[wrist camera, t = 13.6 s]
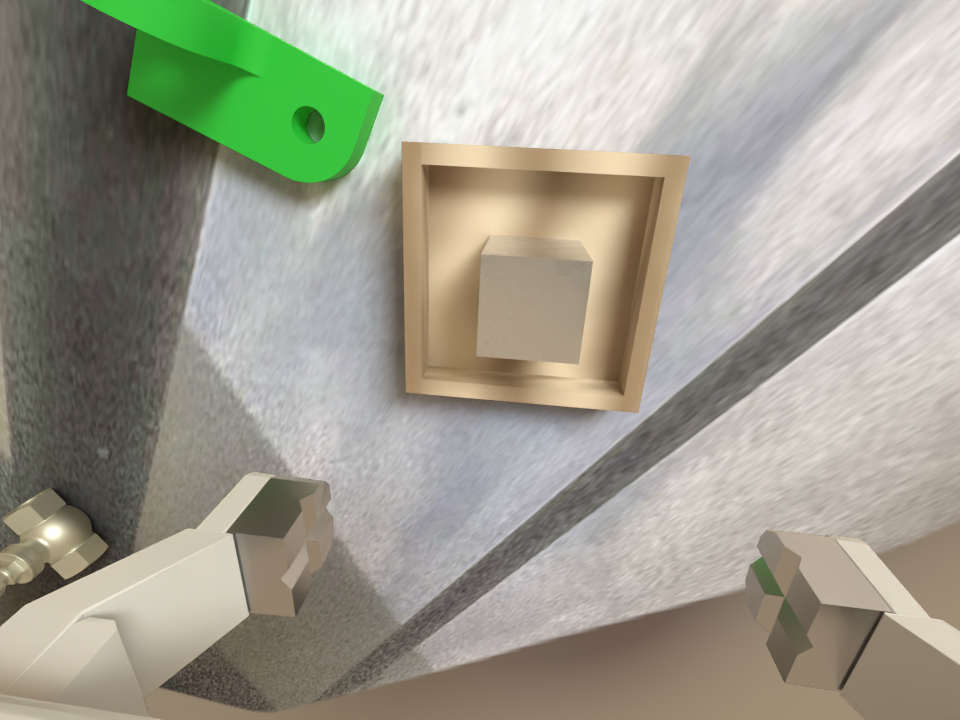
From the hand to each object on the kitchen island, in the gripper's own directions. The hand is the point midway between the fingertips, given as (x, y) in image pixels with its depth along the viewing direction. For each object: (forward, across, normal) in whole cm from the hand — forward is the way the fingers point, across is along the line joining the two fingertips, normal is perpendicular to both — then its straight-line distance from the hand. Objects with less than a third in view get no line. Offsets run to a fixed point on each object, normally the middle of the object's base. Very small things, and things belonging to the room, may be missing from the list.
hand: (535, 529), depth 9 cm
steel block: (+20, 0, 0) cm, 20 cm away
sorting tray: (+21, 0, 0) cm, 21 cm away
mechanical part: (+22, +16, -9) cm, 28 cm away
